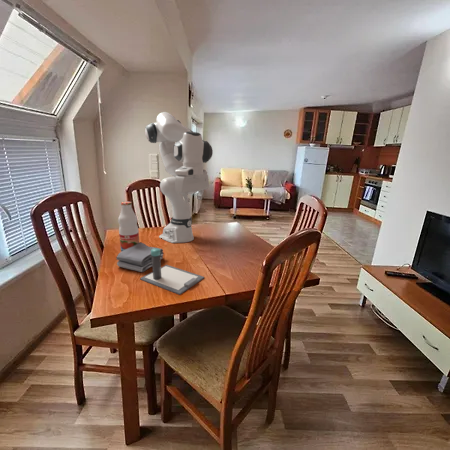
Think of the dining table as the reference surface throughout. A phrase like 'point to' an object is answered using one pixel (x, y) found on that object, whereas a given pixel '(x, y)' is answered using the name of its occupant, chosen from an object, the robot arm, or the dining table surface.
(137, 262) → the towel
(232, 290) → the dining table surface
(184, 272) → the clipboard
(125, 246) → the fruit juice
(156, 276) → the marker
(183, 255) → the dining table surface
